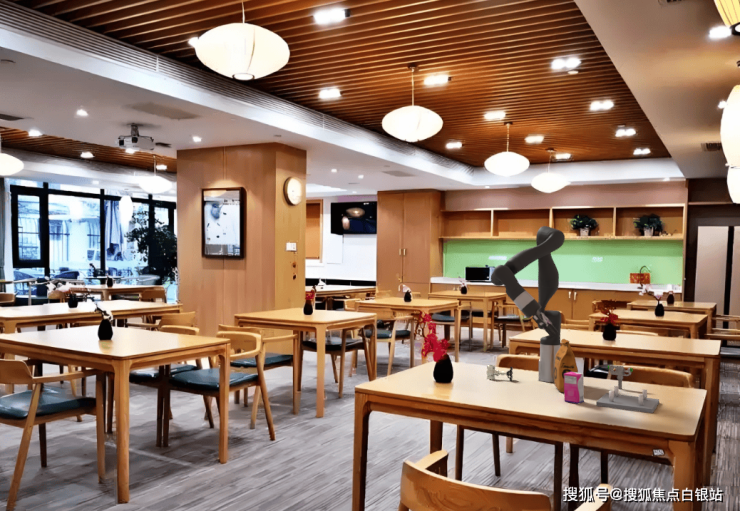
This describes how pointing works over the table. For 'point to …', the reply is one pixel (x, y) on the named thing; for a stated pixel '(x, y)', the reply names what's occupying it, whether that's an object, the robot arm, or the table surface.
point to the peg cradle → (628, 401)
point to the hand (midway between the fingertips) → (554, 333)
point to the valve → (497, 372)
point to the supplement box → (573, 387)
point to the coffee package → (564, 364)
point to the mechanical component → (619, 373)
